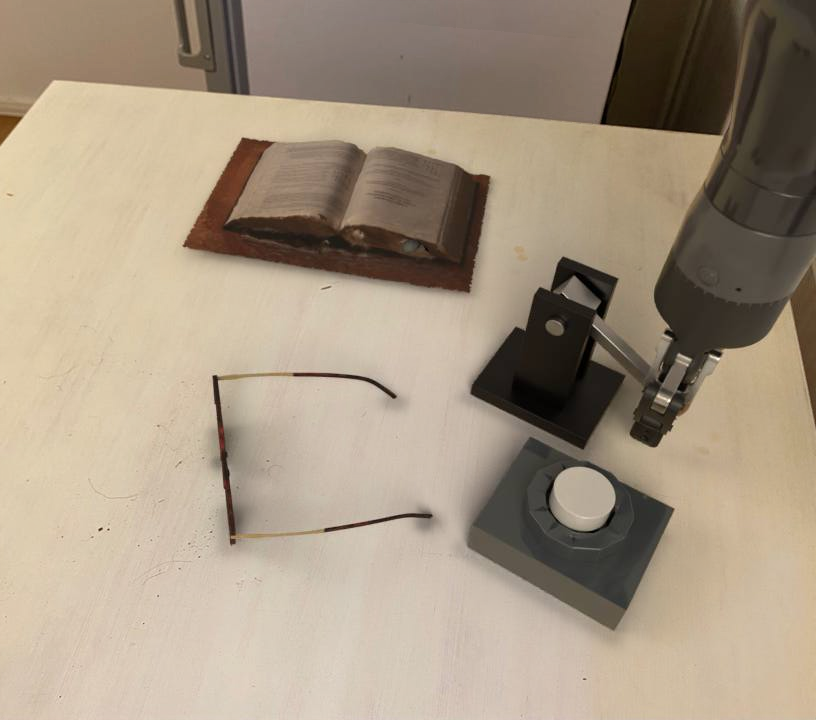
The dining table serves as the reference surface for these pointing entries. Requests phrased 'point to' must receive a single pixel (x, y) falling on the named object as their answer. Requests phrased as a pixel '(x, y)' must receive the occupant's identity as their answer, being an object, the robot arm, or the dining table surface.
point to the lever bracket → (555, 362)
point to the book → (346, 211)
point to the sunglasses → (227, 474)
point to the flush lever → (608, 333)
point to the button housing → (569, 536)
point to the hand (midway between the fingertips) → (652, 421)
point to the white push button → (582, 499)
